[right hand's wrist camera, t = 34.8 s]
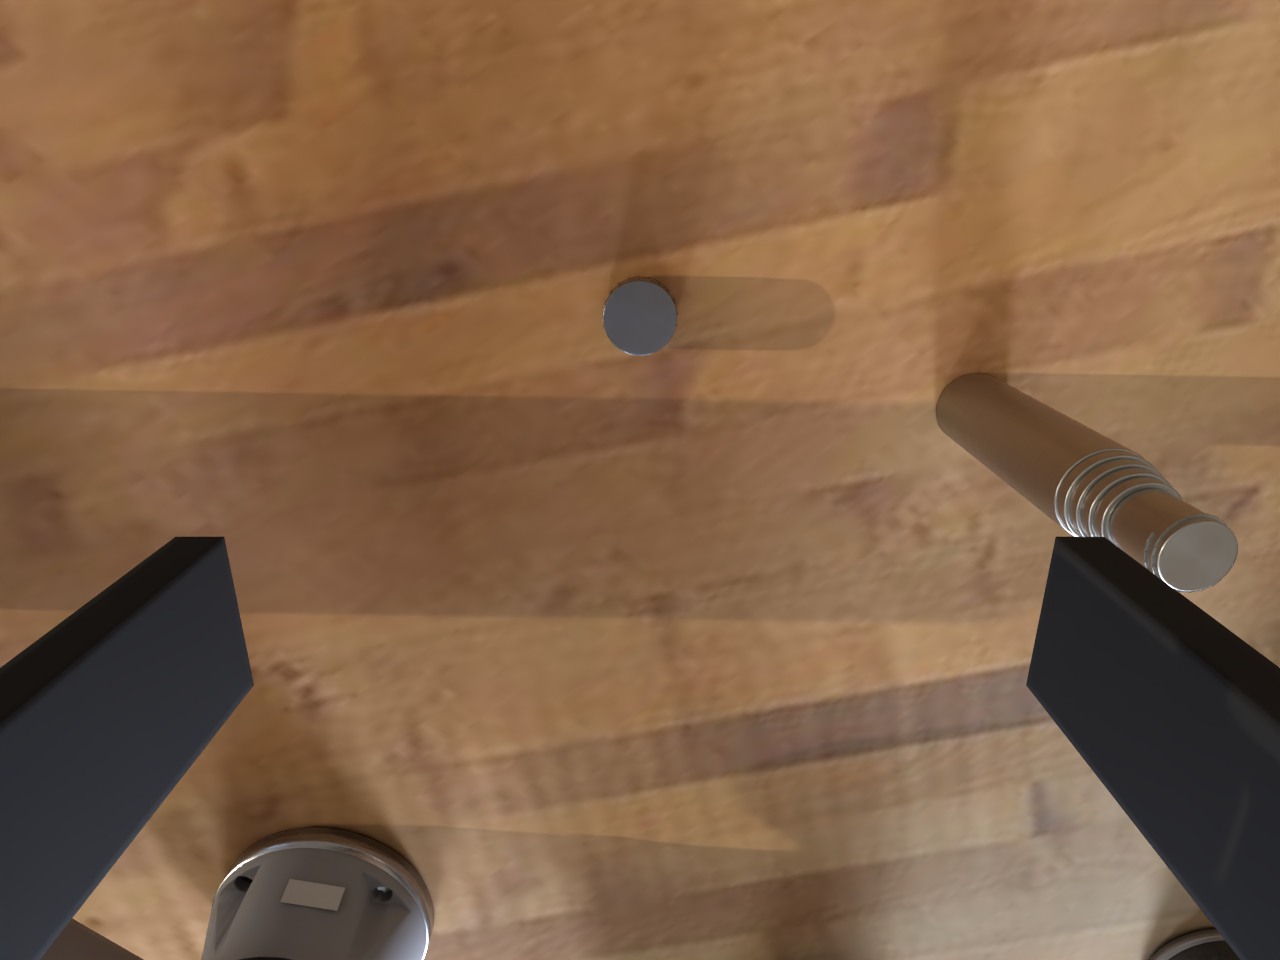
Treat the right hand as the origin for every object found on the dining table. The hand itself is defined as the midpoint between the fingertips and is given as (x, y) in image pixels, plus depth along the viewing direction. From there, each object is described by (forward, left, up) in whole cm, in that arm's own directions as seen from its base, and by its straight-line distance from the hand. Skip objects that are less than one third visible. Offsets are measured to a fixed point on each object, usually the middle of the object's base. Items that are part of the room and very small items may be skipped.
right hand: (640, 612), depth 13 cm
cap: (0, 0, -30) cm, 31 cm away
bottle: (-3, -19, -32) cm, 38 cm away
